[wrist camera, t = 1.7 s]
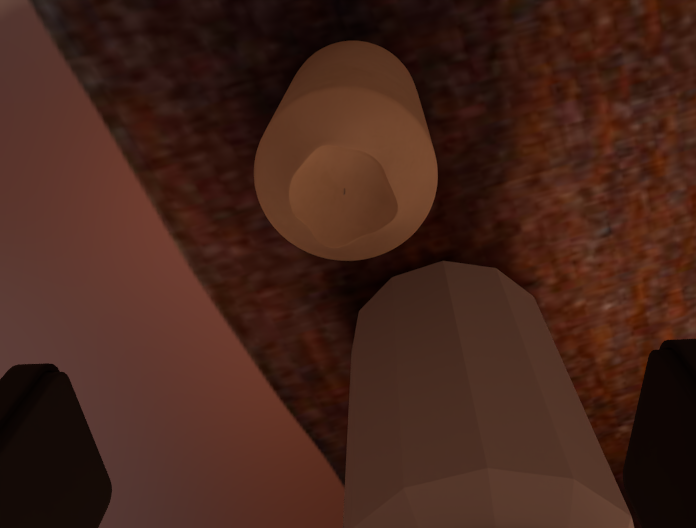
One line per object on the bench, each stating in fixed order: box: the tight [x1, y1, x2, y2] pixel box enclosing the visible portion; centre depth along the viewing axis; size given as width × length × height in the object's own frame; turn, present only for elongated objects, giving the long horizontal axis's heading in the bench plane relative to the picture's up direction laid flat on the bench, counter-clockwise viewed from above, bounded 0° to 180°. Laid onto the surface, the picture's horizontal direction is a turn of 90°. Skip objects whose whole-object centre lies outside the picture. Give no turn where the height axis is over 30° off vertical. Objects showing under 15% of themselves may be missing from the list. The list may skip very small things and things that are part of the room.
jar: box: [343, 261, 634, 528], centre depth 23 cm, size 10×10×18 cm
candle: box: [254, 41, 438, 261], centre depth 20 cm, size 6×6×10 cm
